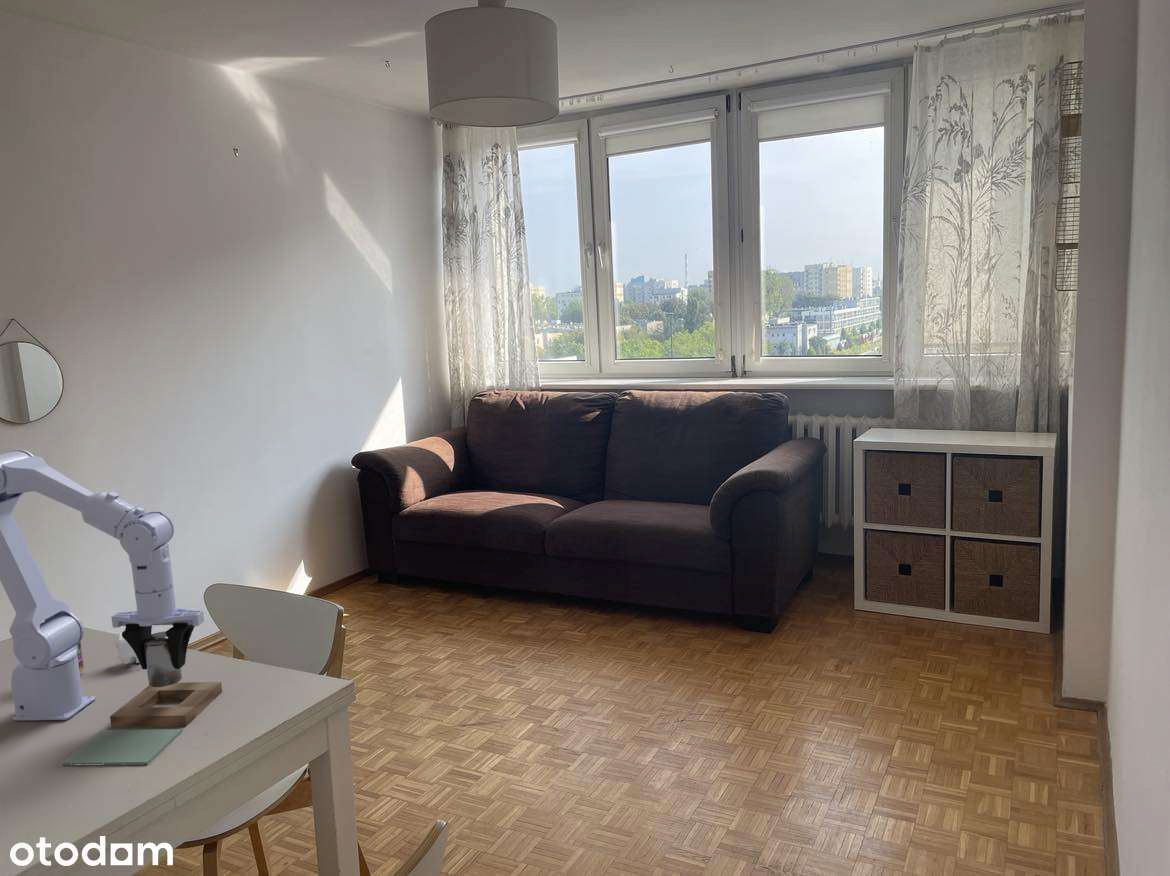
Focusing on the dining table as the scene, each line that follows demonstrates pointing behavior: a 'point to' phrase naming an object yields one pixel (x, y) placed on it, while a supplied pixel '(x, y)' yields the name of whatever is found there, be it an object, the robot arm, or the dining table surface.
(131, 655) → the elephant figurine
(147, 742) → the mat
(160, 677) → the metal cylinder
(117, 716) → the collar
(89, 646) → the dining table surface
